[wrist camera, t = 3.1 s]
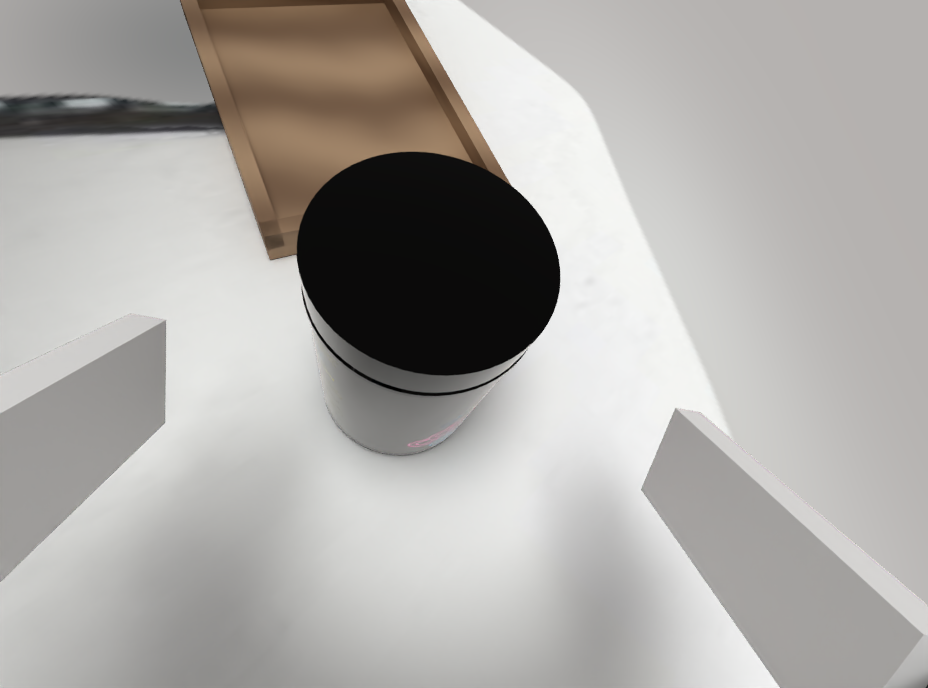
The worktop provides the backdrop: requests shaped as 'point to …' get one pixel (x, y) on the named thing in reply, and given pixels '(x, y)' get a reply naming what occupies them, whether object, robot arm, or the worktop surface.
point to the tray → (323, 97)
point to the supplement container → (420, 293)
